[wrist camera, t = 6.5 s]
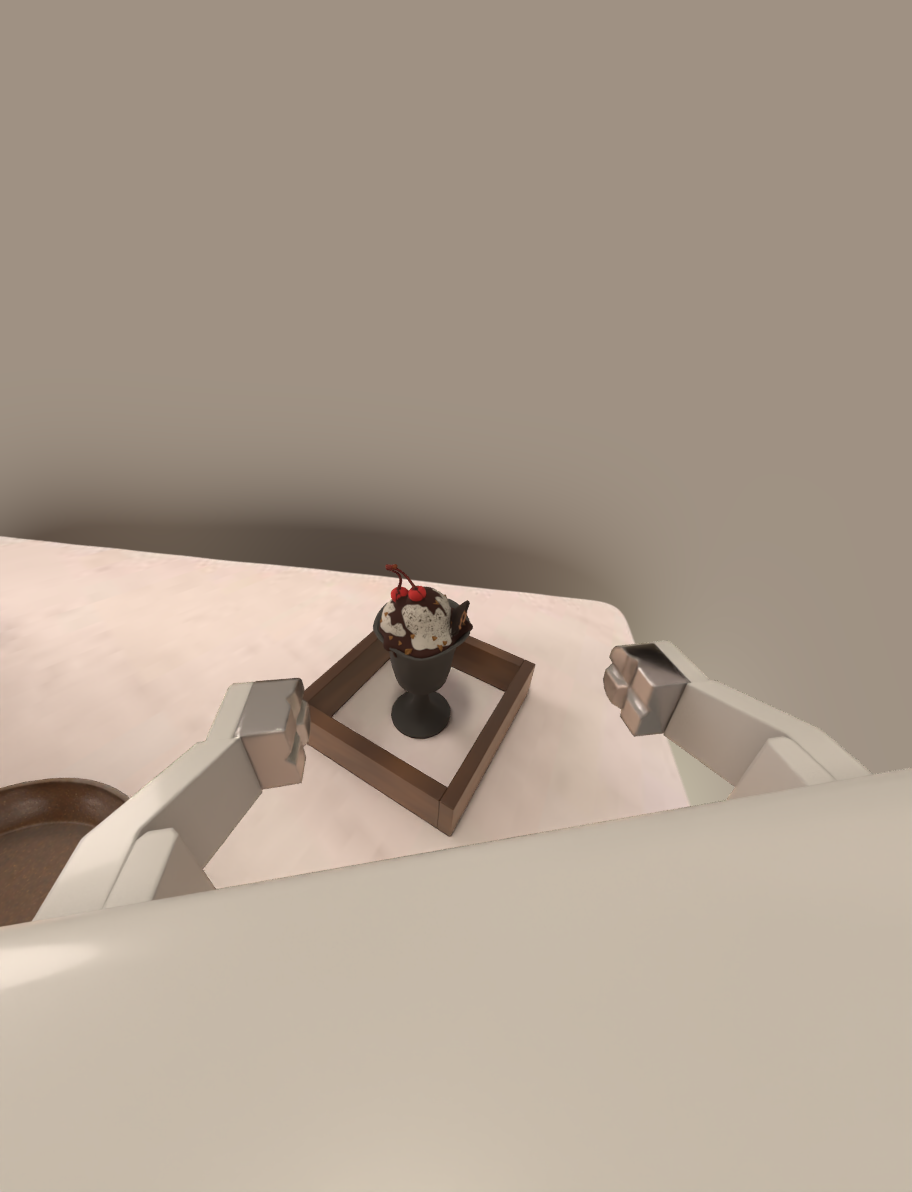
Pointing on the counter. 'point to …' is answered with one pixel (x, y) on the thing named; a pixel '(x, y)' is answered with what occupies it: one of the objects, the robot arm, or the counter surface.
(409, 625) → the sundae
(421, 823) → the counter surface
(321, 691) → the brown wooden square frame
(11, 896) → the plant saucer
